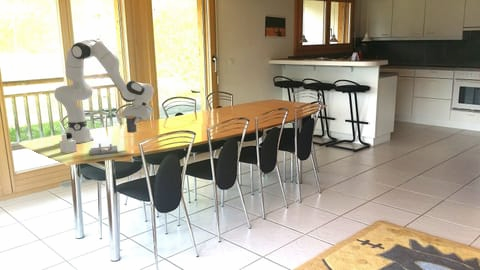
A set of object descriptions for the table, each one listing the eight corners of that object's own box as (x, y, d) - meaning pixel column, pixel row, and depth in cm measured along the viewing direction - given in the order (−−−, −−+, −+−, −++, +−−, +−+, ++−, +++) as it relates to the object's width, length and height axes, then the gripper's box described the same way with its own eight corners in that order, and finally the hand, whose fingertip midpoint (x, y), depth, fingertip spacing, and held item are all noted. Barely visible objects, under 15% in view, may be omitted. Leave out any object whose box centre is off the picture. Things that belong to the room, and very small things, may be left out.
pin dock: (90, 149, 270) (90, 143, 269) (116, 147, 275) (116, 141, 274) (90, 155, 255) (89, 149, 254) (117, 152, 260) (117, 146, 259)
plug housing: (127, 132, 269) (126, 117, 267) (131, 131, 273) (130, 116, 271) (132, 132, 268) (131, 117, 266) (136, 131, 271) (135, 116, 269)
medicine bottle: (71, 150, 271) (68, 131, 269) (77, 151, 267) (74, 132, 264) (60, 152, 266) (58, 133, 263) (66, 153, 261) (64, 134, 259)
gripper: (124, 102, 277) (115, 119, 271) (149, 103, 268) (140, 121, 262) (129, 108, 282) (120, 125, 276) (154, 109, 273) (145, 127, 266)
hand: (130, 123), depth 268 cm, fingers closed on plug housing, 4 cm apart
